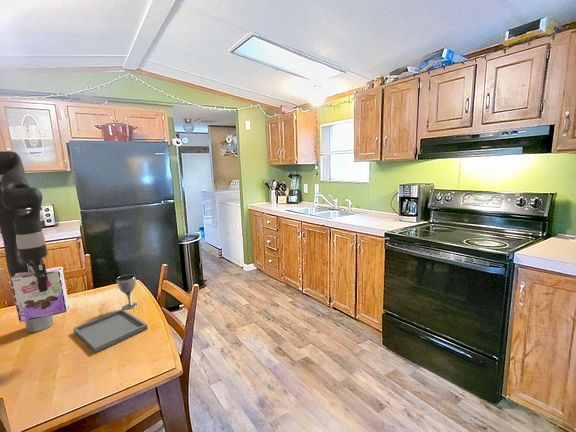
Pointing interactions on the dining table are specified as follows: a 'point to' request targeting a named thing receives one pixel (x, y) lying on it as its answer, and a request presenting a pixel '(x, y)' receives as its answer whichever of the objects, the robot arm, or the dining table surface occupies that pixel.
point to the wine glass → (127, 288)
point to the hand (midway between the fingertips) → (40, 288)
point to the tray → (109, 330)
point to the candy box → (39, 295)
